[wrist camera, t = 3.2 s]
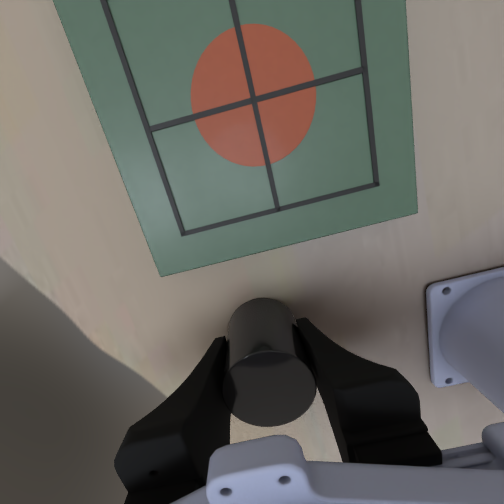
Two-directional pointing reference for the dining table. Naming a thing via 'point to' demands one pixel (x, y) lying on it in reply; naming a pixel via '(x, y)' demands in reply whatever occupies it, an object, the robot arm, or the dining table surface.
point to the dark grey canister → (266, 366)
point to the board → (250, 118)
